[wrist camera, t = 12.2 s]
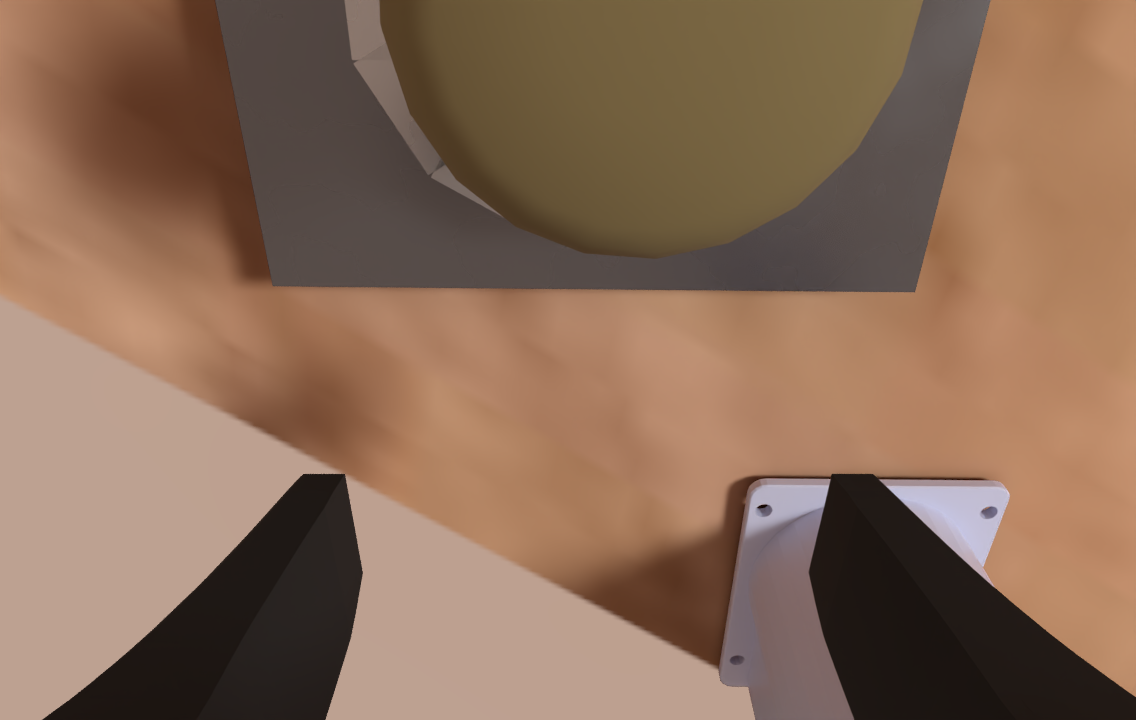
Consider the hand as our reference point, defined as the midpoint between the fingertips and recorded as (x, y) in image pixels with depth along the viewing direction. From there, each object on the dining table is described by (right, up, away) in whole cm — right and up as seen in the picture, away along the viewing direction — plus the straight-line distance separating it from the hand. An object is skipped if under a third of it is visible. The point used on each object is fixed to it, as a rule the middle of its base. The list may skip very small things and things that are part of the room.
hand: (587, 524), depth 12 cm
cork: (+1, +11, +4) cm, 12 cm away
